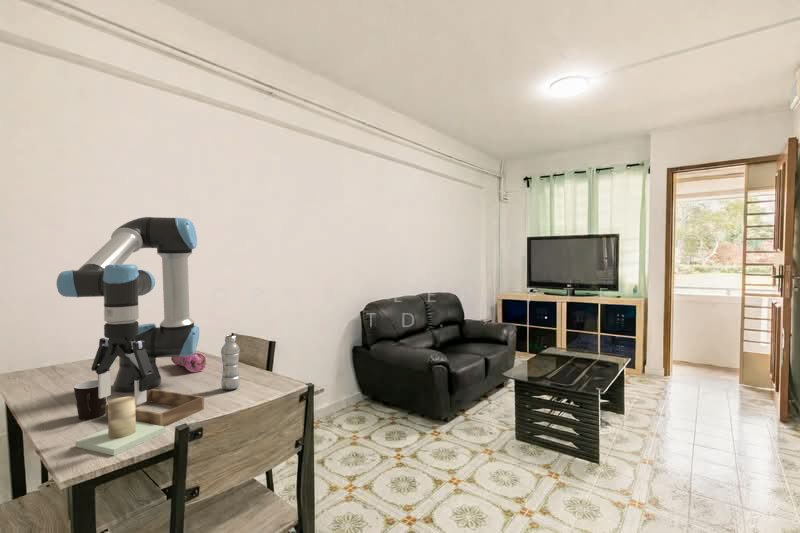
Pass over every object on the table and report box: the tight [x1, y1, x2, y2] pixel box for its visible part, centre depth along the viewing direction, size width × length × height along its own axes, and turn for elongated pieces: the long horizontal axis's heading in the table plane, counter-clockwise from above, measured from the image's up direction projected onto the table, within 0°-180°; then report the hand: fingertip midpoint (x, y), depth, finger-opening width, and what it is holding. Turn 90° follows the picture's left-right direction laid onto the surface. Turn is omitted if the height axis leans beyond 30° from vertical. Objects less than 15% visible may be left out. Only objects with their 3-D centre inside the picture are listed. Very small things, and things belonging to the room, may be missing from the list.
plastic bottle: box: [220, 334, 241, 391], centre depth 145 cm, size 6×7×20 cm
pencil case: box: [170, 351, 207, 373], centre depth 173 cm, size 21×9×9 cm, turn 48°
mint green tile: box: [75, 421, 166, 456], centre depth 104 cm, size 14×14×2 cm
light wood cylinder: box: [107, 396, 137, 439], centre depth 104 cm, size 6×6×9 cm
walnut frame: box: [104, 388, 205, 428], centre depth 122 cm, size 23×16×4 cm
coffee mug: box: [73, 379, 108, 421], centre depth 118 cm, size 12×9×10 cm
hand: (122, 399), depth 104 cm, fingers open, 13 cm apart
